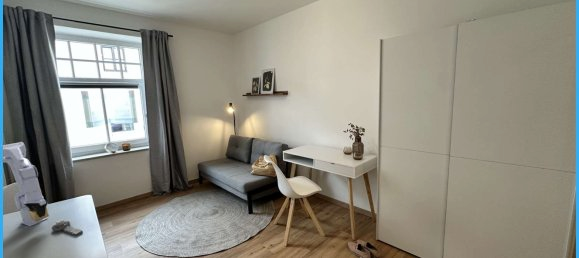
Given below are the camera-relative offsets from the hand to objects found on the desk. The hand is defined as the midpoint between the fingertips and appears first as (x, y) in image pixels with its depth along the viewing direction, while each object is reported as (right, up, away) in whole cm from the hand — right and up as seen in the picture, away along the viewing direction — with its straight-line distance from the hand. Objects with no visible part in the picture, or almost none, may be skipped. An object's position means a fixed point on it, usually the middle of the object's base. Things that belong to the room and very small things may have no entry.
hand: (39, 215), depth 130 cm
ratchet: (+15, -8, 0) cm, 17 cm away
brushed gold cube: (0, -2, 0) cm, 2 cm away
